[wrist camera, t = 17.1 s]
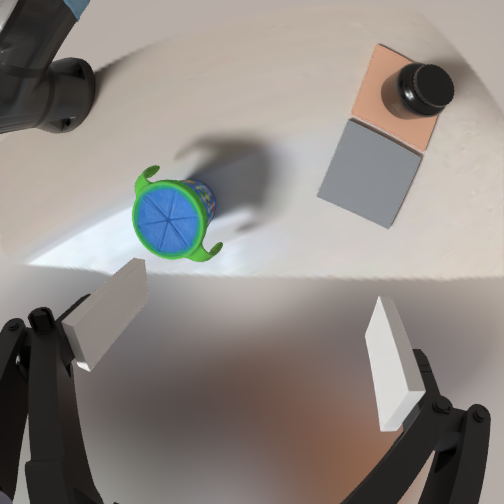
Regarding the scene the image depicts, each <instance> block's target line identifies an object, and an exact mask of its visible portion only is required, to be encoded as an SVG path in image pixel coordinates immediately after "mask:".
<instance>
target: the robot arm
mask: <svg viewBox="0 0 504 504" xmlns="http://www.w3.org/2000/svg"><path fill="white" fill-rule="evenodd" d="M89 2H90V0H0V134H3V133H7V132H12V131H18V130H23V129H29V128H38V129H41V130H44V131H47V132H50V133H56V134H58V133H66V132H70V131H72V130H74V129H75V128H76V127H78V126H79V125H80V124H81V122H82V121H83V120H84V119H85V117H86V115H87V114H88V112H89V109H90V107H91V104H92V101H93V97H94V91H95V78H94V73H93V70H92V68H91V66H90V65H89V64H88V63H87V62H86V61H84V60H83V59H79V58H64V59H60V60H57V61H54V62H52V60H53V59H54V57H55V55H56V53H57V52H58V50H59V48H60V46H61V44H62V43H63V41H64V40H65V38H66V37H67V35H68V34H69V32H70V31H71V29H72V27H73V26H74V24H75V23H76V22H78V20H79V19H80V16H81V14H82V13H83V11H84V10H85V8H86V7H87V5H88V4H89ZM148 300H149V295H148V287H147V278H146V268H145V260H143V259H137V258H133V259H132V260H131V261H129V262H128V263H127V264H126V265H125V266H123V267H122V268H121V269H120V270H119V271H118V272H116V273H115V274H114V275H113V276H112V277H111V278H109V279H108V280H107V281H106V282H105V283H104V284H102V285H101V286H100V287H99V288H98V289H97V290H96V291H95V292H93V293H92V294H87V295H85V296H84V297H81V298H80V299H79V300H78V301H77V302H76V303H75V304H73V305H72V306H71V307H70V309H68V310H67V311H65V313H63V314H62V315H61V316H60V317H59V318H58V319H57V320H56V321H55V320H54V317H53V314H52V311H51V310H50V309H49V308H47V307H40V308H37V309H35V310H33V311H32V312H31V313H30V314H29V316H28V320H29V322H30V325H31V327H32V328H28V327H26V326H25V324H24V321H23V320H22V319H20V318H14V319H11V320H9V321H8V322H7V323H6V324H5V325H4V327H3V329H2V331H1V332H0V504H13V503H12V502H13V499H14V495H15V491H16V484H17V476H18V467H19V459H20V452H21V446H22V440H23V434H24V429H25V424H26V419H27V415H28V416H29V417H28V419H29V439H30V451H31V460H30V461H28V462H26V464H25V475H26V482H27V489H28V494H29V500H30V504H104V503H103V500H102V498H101V496H100V494H99V493H98V491H97V489H96V487H95V485H94V482H93V479H92V475H91V472H90V468H89V464H88V460H87V456H86V451H85V447H84V442H83V438H82V432H81V427H80V421H79V415H78V408H77V401H76V394H75V384H74V374H73V366H72V363H71V361H72V360H73V359H74V358H75V359H76V362H77V364H78V366H79V367H81V368H83V369H86V370H88V371H91V370H92V369H93V367H94V366H95V365H96V363H97V362H98V361H99V360H100V358H101V357H102V356H103V355H104V353H105V352H106V351H107V350H108V348H109V347H110V346H111V345H112V344H113V342H114V341H115V340H116V339H117V337H118V336H119V335H120V334H121V332H122V331H123V330H124V329H125V328H126V327H127V325H128V324H129V323H130V322H131V320H132V319H133V318H134V317H135V316H136V315H137V313H138V312H139V311H140V310H141V309H142V307H143V306H144V305H145V304H146V303H147V302H148ZM365 338H366V343H367V347H368V353H369V358H370V363H371V369H372V375H373V380H374V386H375V393H376V400H377V407H378V414H379V421H380V430H381V431H397V429H398V428H399V427H400V426H401V424H403V430H404V431H403V432H402V433H401V435H400V436H399V437H398V438H397V439H396V440H395V442H394V444H393V445H392V446H391V448H390V449H389V450H388V452H387V453H386V454H385V455H384V457H383V458H382V459H381V460H380V461H379V463H378V464H377V465H376V466H375V467H374V468H373V470H372V471H371V472H370V473H369V474H368V475H367V476H366V478H364V480H363V481H362V482H361V483H360V484H359V485H358V486H357V487H356V488H355V489H354V490H353V491H352V492H351V493H350V494H349V495H348V496H347V497H346V498H345V499H344V500H343V501H342V502H341V503H340V504H397V503H398V502H399V500H400V499H401V498H402V496H403V495H404V493H405V492H406V491H407V490H408V488H409V487H410V485H411V484H412V483H413V481H414V479H415V478H416V477H417V475H418V473H419V472H420V471H421V469H422V467H423V466H424V464H425V463H426V461H427V459H428V458H429V456H430V455H431V453H432V451H433V450H434V451H435V455H434V458H433V462H432V465H431V468H430V471H429V474H428V477H427V480H426V483H425V486H424V489H423V492H422V494H421V497H420V499H419V502H418V504H478V502H479V498H480V494H481V490H482V484H483V479H484V474H485V468H486V461H487V455H488V446H489V436H490V422H491V418H490V413H489V411H488V410H487V409H486V408H485V407H484V406H482V405H480V404H474V405H472V406H471V407H470V408H469V409H468V410H467V411H464V410H461V409H456V408H453V406H452V404H451V402H450V401H449V400H448V399H447V398H446V397H444V396H441V395H440V392H439V389H438V386H437V383H436V381H435V378H434V375H433V373H432V369H431V367H430V364H429V361H428V359H427V357H426V355H425V354H424V353H423V352H422V351H421V350H420V349H412V348H411V345H410V342H409V339H408V337H407V334H406V332H405V329H404V326H403V324H402V321H401V318H400V316H399V313H398V311H397V308H396V306H395V304H394V301H393V299H392V297H387V296H379V297H378V300H377V304H376V306H375V309H374V312H373V315H372V318H371V321H370V323H369V326H368V329H367V332H366V334H365ZM16 358H17V359H18V361H17V363H16ZM114 504H118V503H116V502H114Z"/></svg>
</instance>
